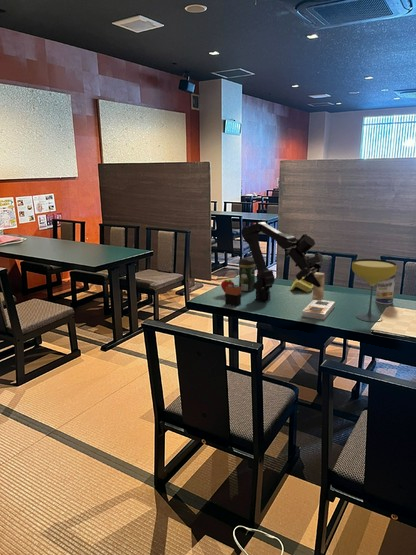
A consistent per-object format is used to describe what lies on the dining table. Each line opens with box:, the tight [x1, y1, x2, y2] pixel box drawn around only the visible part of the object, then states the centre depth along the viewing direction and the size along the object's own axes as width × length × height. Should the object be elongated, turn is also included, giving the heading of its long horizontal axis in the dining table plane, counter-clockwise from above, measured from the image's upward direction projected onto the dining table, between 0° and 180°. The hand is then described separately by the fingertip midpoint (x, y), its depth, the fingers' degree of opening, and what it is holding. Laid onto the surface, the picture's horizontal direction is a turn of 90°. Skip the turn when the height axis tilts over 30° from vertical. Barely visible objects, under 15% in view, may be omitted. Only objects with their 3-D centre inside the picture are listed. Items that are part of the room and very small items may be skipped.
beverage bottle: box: [374, 274, 396, 305], centre depth 201 cm, size 8×8×20 cm
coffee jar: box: [238, 256, 256, 293], centre depth 225 cm, size 10×8×19 cm
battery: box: [224, 284, 242, 307], centre depth 200 cm, size 4×7×10 cm, turn 59°
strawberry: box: [220, 278, 235, 293], centre depth 216 cm, size 6×8×10 cm
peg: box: [311, 272, 326, 301], centre depth 183 cm, size 4×4×12 cm
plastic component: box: [289, 277, 313, 293], centre depth 230 cm, size 20×7×10 cm
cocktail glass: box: [351, 258, 398, 323], centre depth 178 cm, size 18×18×25 cm
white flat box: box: [301, 299, 336, 321], centre depth 190 cm, size 10×21×3 cm, turn 151°
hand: (321, 285), depth 182 cm, fingers closed on peg, 4 cm apart
